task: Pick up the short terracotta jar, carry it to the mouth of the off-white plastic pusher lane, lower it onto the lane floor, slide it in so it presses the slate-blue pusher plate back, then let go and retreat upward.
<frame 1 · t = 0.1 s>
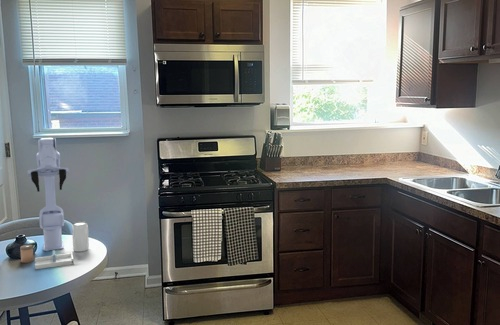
hand: (49, 189, 165), 32 cm above the table, tool tilted 50°, fingers open, 7 cm apart
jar: (27, 260, 178), on the table
pusher lane: (54, 262, 176), on the table
can: (81, 250, 192), on the table
pusher: (54, 257, 176), point 2 cm above the table, slide at 0.0 cm
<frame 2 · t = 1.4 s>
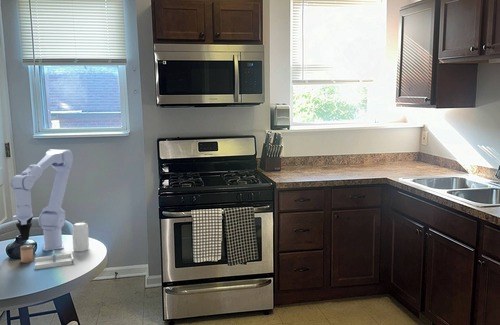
hand: (25, 237, 177), 10 cm above the table, tool pointing down, fingers open, 7 cm apart
nothing on the table moved.
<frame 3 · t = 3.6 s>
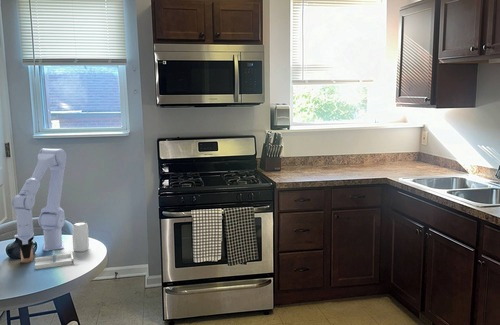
hand: (27, 256, 178), 2 cm above the table, tool pointing down, fingers closed on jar, 4 cm apart
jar: (27, 260, 178), on the table, touching gripper
everything else where it was.
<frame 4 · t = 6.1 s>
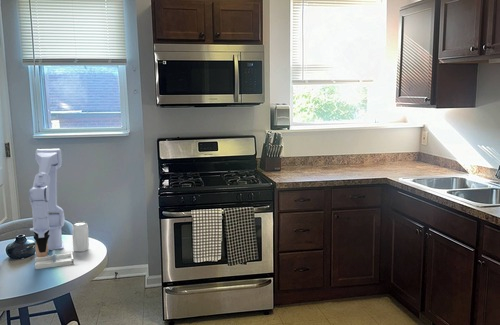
hand: (42, 250, 174), 6 cm above the table, tool pointing down, fingers closed on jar, 4 cm apart
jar: (42, 255, 174), point 4 cm above the table, touching gripper
everything else where it was.
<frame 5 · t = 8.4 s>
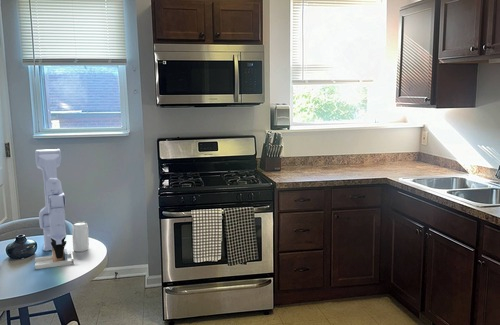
hand: (59, 256, 177), 2 cm above the table, tool pointing down, fingers closed on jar, 4 cm apart
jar: (58, 261, 177), resting on pusher lane, touching gripper, pusher
pusher: (65, 255, 178), point 2 cm above the table, slide at 4.4 cm, touching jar
everything else where it was.
when the fingers open (2 cm above the table, at t = 8.8 s): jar stays where it is, resting on pusher lane.
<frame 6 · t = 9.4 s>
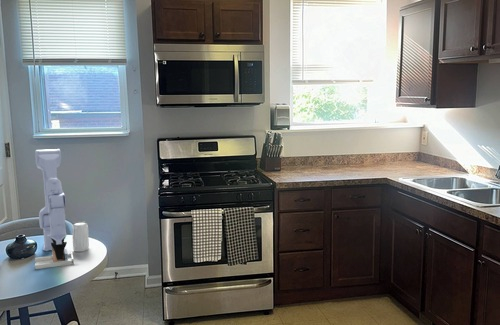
hand: (59, 256, 177), 2 cm above the table, tool pointing down, fingers open, 7 cm apart
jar: (58, 261, 177), resting on pusher lane
pusher: (66, 255, 178), point 2 cm above the table, slide at 4.4 cm
everything else where it was.
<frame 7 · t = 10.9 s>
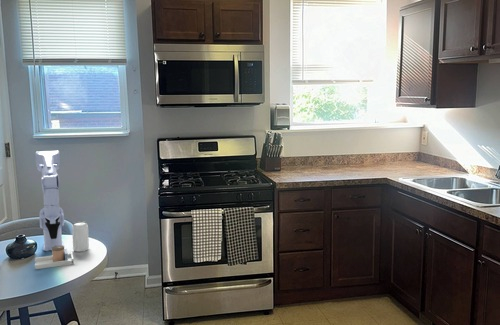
hand: (53, 235, 181), 9 cm above the table, tool pointing down, fingers open, 7 cm apart
nothing on the table moved.
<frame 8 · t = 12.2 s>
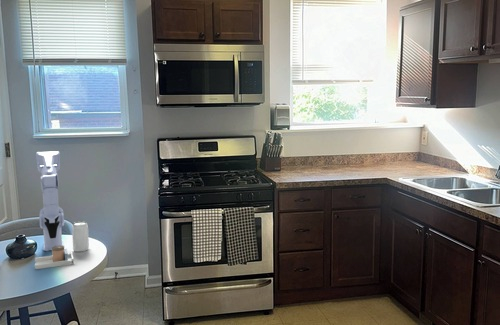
hand: (52, 235, 181), 9 cm above the table, tool pointing down, fingers open, 7 cm apart
nothing on the table moved.
at the end: pusher slide at 4.4 cm; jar 0.3 cm from the target spot on the pusher lane, point 0.3 cm above the pusher lane's base; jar tilted 0° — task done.
